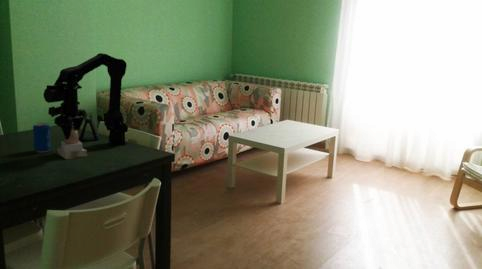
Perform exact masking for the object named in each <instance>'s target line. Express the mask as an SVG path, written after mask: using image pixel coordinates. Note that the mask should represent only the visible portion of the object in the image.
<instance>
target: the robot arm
mask: <svg viewBox="0 0 482 269" xmlns="http://www.w3.org/2000/svg"><path fill="white" fill-rule="evenodd" d="M102 65H103V66H105V67H106V71H107V74H108V76H109V78H110V80H109V101H108V102H109V103H108V110H107V111H106V112H104V113H103V120H102V121H103V125H104V126H105V128H106V130H107V131H109V134H108V142H107V144H110V145H111V146H113V147H116V146H123V145H124V144H125V145H127V142H126V133H127V132H128V130H129V127H128V126H127V125H126V123H124V116H123V113H122V111H121V102H122V99H121V98H122V97H121V96H122V81H123V80H122V79H123V78H124V76H125V74H126V72H127V62H126V61H125V60H124V59H122V58H116V57H113V56H112V55H111V56H110V54H107V53H104V52H103V53H101V52H100V53H97V54H96V55H95V56H92V57H91V58H88V59H87V60H85V61H84V62H82V63H80V64H78V65H76V66H69V67H66V68H63V69H61V70H60V72H59V74H58V77H57V79H56V80H55V82H54V84H53V85H50V84H48V85H46V88H45V89H44V91H43V98H44V101H45V102H46V103H48V104H50V103H59V102H61V103H60V105H59V106H57V107H55V106H51V107H48V110H47V111H48V113H47V114H48V115H50V116H51V118H54V119H53V120H54V125H56V126H58V127H60V128H61V131H62V133H63V135H64V139H65V138H66V139H67V140H68V139H69V137H70V134H71V130H78V133H79V132H80V129H81V127H82V126H83V123H84V122H85V116H86V115H87V111H86V109H81V108H79V106H80V103H81V102H80V101H79V100H78V99H79V97H78V96H79V95H78V90H82V89H83V86H82V85H80V84H79V82H80V81H82V80H83V78H84V77H85V76H86V75H87V74H89V73H90V72H92V71H94V70H96V69H97V68H99V67H101V66H102ZM55 116H56V117H55Z"/></svg>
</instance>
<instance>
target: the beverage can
mask: <svg viewBox="0 0 482 269" xmlns="http://www.w3.org/2000/svg"><path fill="white" fill-rule="evenodd" d="M32 131H33V132H32V133H33V146H34V147H33V148H34V151H35V152H36V153H39V154H43V153H49V151H50V150H51V149H52V146H51V145H52V143H51V128H50V125H49V123H48V122H36V123H34V124H33V126H32Z"/></svg>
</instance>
